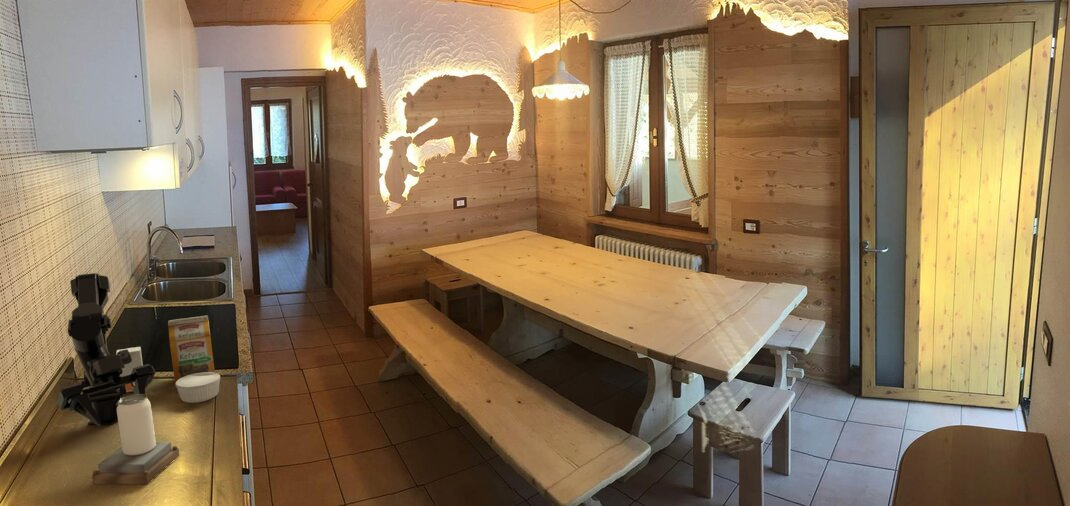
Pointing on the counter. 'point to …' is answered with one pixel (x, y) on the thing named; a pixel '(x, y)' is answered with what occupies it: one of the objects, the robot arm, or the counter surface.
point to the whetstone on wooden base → (135, 465)
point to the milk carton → (190, 346)
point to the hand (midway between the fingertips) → (122, 417)
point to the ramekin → (198, 387)
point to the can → (136, 425)
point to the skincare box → (131, 364)
